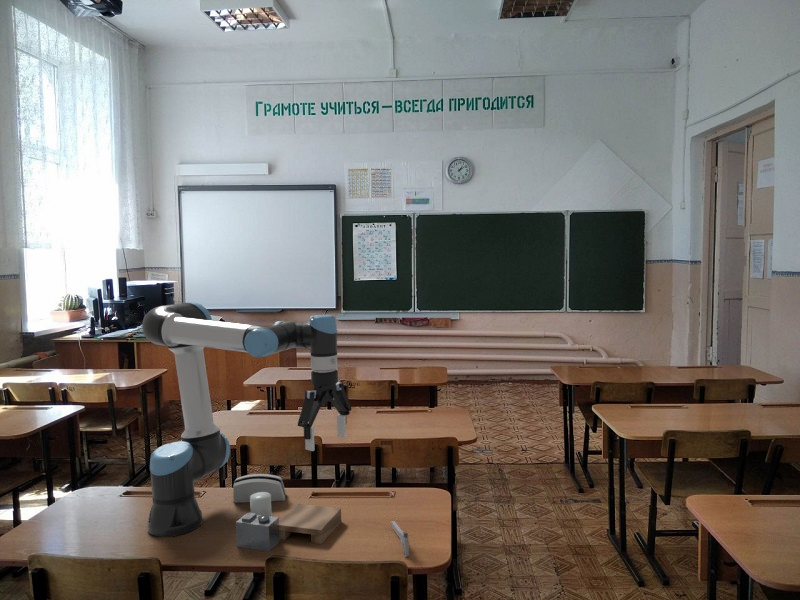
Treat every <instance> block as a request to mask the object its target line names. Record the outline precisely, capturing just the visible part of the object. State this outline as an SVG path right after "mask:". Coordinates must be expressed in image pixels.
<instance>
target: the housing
mask: <svg viewBox="0 0 800 600" xmlns="http://www.w3.org/2000/svg"><path fill="white" fill-rule="evenodd" d="M279 520H280V517H279V516H273V515H272V516H269V515H266V514H264V515H257V514H256V513H251V512H247V513H245V514H244V515H243V516H241V518H239V519H238V520H236V521H235V530H236V531H235V533H236V547H238V548H243V549H244V548H245V549H250V550H251V549H252V550H258V551H259V550H260V551H267V552H268V551H269V552H271V550H272V549H274V548H275V547H276V546H277V545H278V544H279V543H280V542H281V541H280V540H281V539H280V536H279Z"/></svg>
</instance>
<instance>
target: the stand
mask: <svg viewBox="0 0 800 600" xmlns="http://www.w3.org/2000/svg"><path fill="white" fill-rule="evenodd" d="M341 523H342V508H341V507H340V508H339V507H330V506H322V505H321V506H320V505H313V504H302V503H297V504H296V505H295V506H294V507H292V509H290V510H289V511H288V512H287V513H286V514H285V515H283V517H281V518H279V536H280V540H286V539H287V538H288V537H289V536H290V535H291V534H292V533H299V534H300V533H301V534H308V535H310V539H311V544H317V545H322V544H323V543H324V542H326V540H327V538H328V537H329V536H330V535H332V533H333V532H334V531H335V529H336V528H338V526H339V525H340V524H341Z"/></svg>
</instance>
